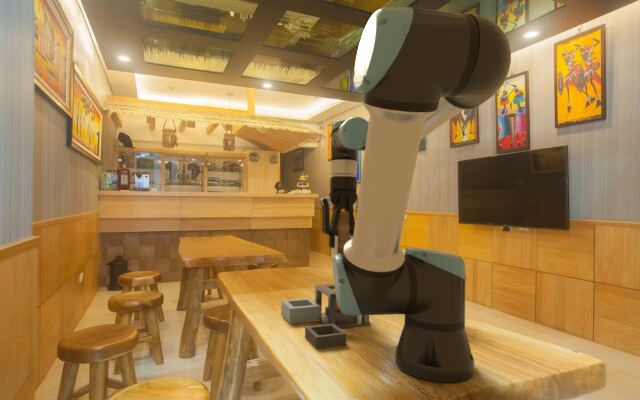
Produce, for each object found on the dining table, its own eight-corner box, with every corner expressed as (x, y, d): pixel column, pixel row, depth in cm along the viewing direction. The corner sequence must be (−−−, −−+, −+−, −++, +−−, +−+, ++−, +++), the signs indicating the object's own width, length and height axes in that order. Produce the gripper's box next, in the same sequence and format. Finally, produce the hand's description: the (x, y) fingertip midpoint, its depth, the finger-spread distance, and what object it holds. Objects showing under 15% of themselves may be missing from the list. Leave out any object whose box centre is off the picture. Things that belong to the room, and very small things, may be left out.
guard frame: (370, 324, 96) (370, 291, 96) (329, 329, 92) (330, 294, 92) (350, 312, 107) (351, 282, 107) (313, 316, 103) (314, 284, 103)
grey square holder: (320, 320, 99) (321, 306, 99) (289, 323, 96) (290, 308, 96) (310, 311, 107) (310, 298, 107) (281, 314, 104) (281, 300, 104)
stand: (346, 344, 82) (346, 333, 82) (315, 348, 79) (316, 337, 79) (333, 333, 89) (333, 323, 89) (305, 337, 86) (305, 326, 86)
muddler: (351, 283, 99) (352, 211, 99) (337, 284, 97) (339, 211, 98) (344, 280, 102) (346, 211, 103) (332, 281, 101) (333, 211, 101)
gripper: (363, 178, 107) (362, 256, 106) (310, 175, 101) (309, 258, 100) (376, 177, 100) (375, 260, 99) (320, 173, 94) (318, 262, 93)
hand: (342, 259), depth 100 cm, fingers closed on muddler, 4 cm apart
